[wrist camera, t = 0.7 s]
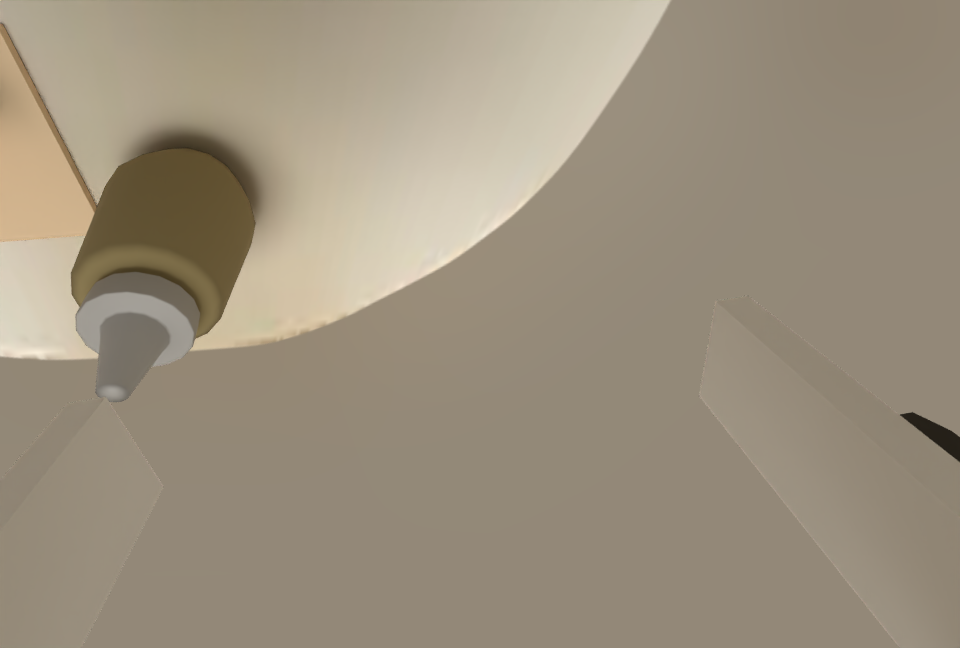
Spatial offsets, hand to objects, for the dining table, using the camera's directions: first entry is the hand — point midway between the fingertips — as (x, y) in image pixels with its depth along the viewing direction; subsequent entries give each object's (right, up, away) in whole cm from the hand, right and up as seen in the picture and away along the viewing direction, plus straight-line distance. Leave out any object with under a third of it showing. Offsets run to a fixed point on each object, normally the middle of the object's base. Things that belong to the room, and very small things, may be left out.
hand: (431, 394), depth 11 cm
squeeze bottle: (-18, +11, +22) cm, 30 cm away
